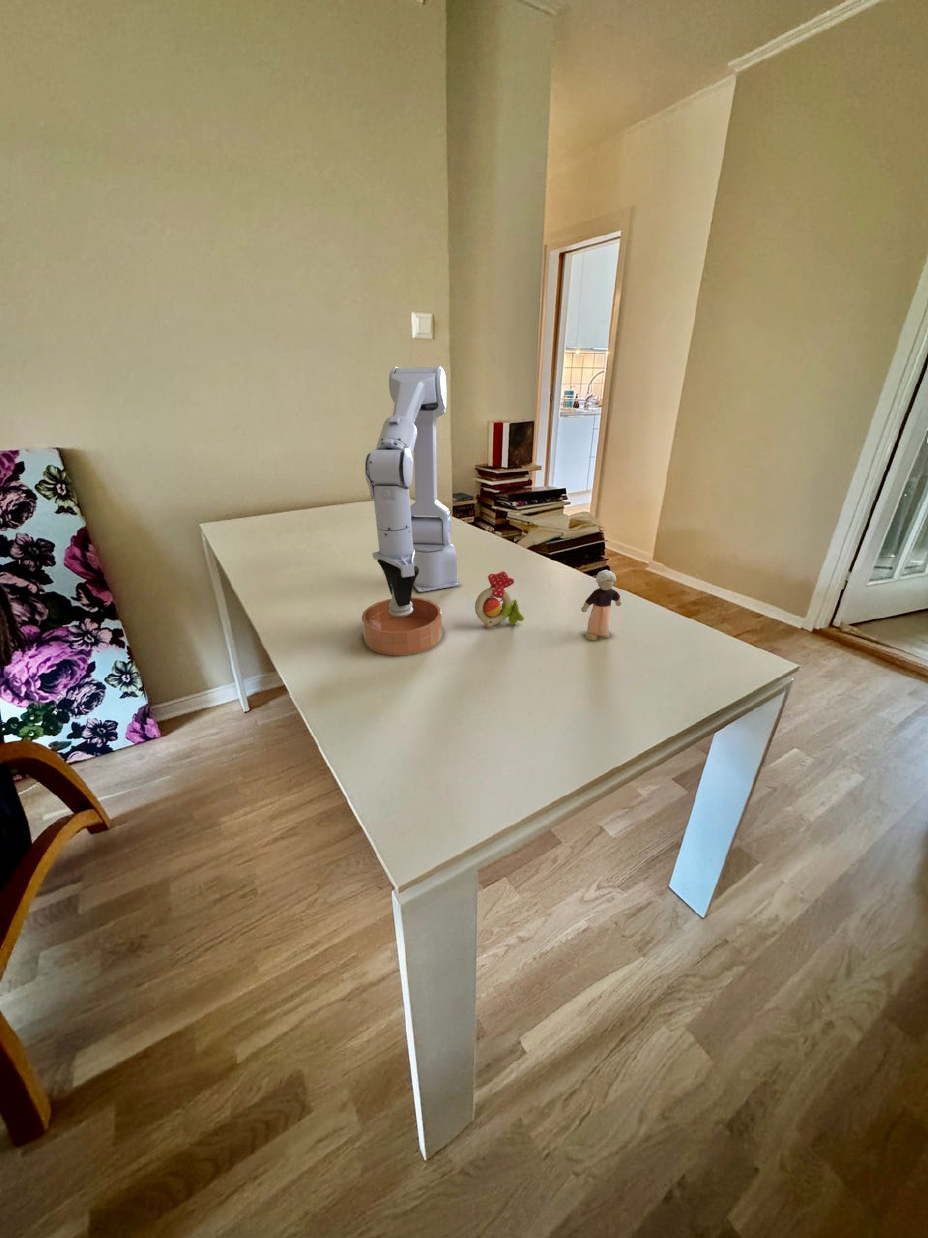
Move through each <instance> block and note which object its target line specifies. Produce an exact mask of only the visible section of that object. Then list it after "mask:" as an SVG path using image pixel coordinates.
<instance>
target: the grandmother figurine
mask: <svg viewBox="0 0 928 1238" xmlns="http://www.w3.org/2000/svg"><path fill="white" fill-rule="evenodd" d="M595 579H596V580H595V582H596V583H597V586H598V588H596V589H595V590H593V591H592V593H591V594H590V595H589V596H588V597H587V598H586V600H585V601H584V604H583V606H582V607H581V608H580V611H581V612H582V613H586V612H588V609H589V608H590V606H592V608H591V611H590V615H589V616H588V617H589V618H588V622H587V629H586V632H585V638H586V639H587V640H589V641H596V640H597V639H598V637H599V638H602V639H607V638H609V637H610V633H609V632H610V615H611V614H610V612H611V607H612V601H614V603H615V606H616V607H620V606H622V601H621V595H620V593H619V592H618V591H617V590H615V589H613V586H614V584H615V582H616V581H617V576H616V573H614V572H612V571H611V570H608V569H604V570H601V571H599V572H598V573H597V575H595Z"/></svg>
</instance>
